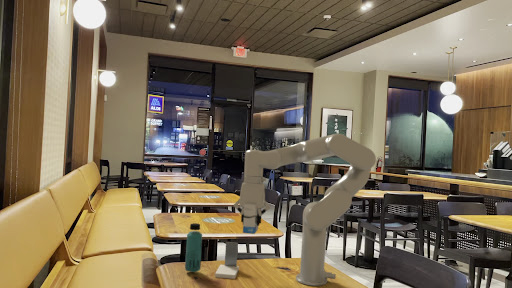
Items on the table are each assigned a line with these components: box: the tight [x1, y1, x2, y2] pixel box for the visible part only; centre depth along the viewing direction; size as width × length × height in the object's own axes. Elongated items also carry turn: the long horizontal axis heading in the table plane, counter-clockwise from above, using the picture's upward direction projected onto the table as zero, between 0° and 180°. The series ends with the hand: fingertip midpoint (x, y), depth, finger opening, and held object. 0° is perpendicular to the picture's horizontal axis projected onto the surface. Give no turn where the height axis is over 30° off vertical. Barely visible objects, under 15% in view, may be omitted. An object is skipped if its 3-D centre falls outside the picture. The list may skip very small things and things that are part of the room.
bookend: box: [224, 241, 239, 267], centre depth 167 cm, size 5×1×10 cm, turn 85°
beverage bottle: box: [184, 223, 203, 273], centre depth 160 cm, size 6×7×20 cm
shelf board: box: [214, 264, 240, 280], centre depth 162 cm, size 8×12×2 cm
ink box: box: [242, 203, 259, 235], centre depth 160 cm, size 8×5×12 cm, turn 169°
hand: (251, 224), depth 160 cm, fingers closed on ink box, 5 cm apart
